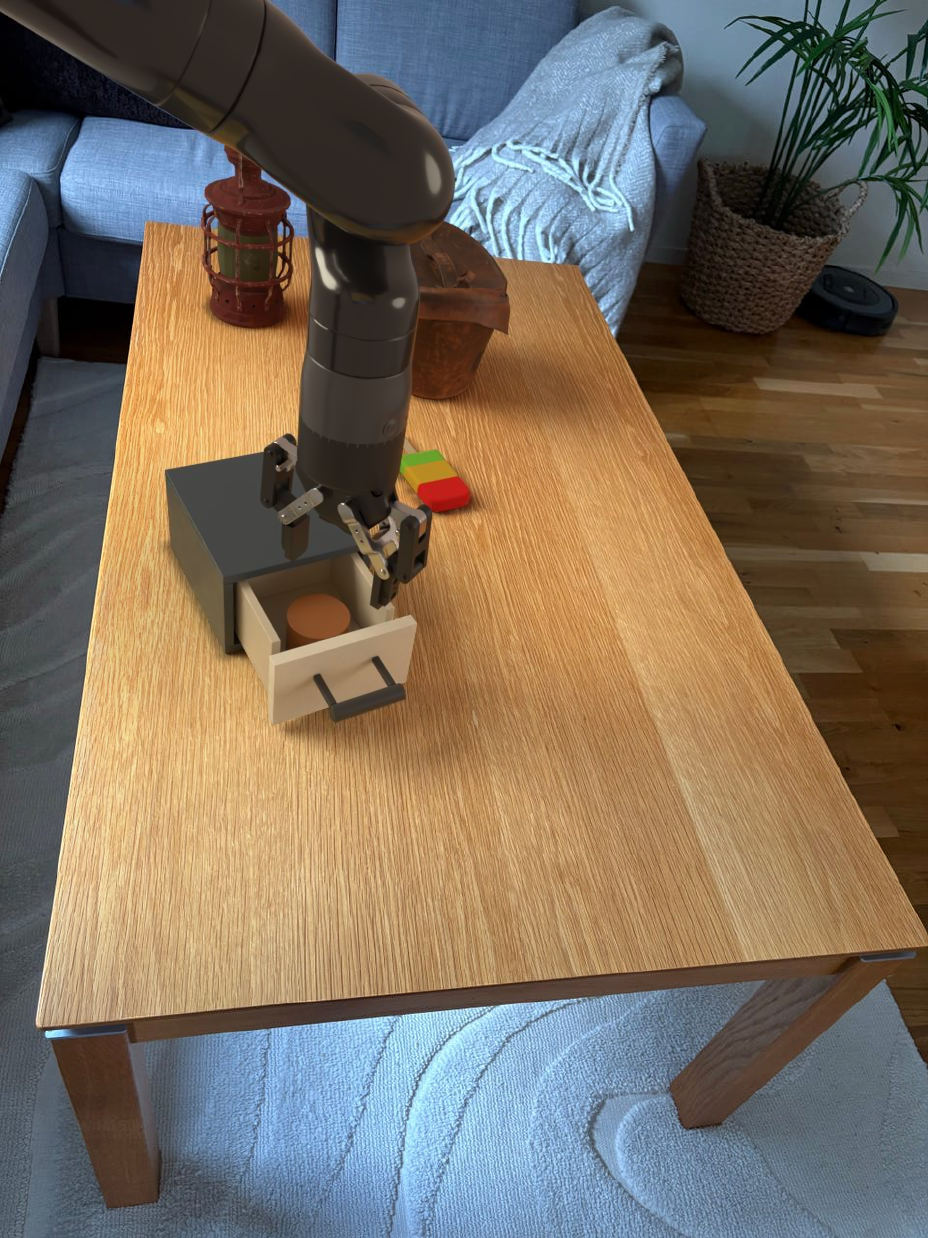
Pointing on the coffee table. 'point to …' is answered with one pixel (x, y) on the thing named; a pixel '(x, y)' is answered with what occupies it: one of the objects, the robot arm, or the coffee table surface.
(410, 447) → the popsicle
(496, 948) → the coffee table surface
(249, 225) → the lantern
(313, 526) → the cabinet
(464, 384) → the case
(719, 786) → the coffee table surface
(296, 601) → the orange brown cylinder
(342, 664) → the drawer
